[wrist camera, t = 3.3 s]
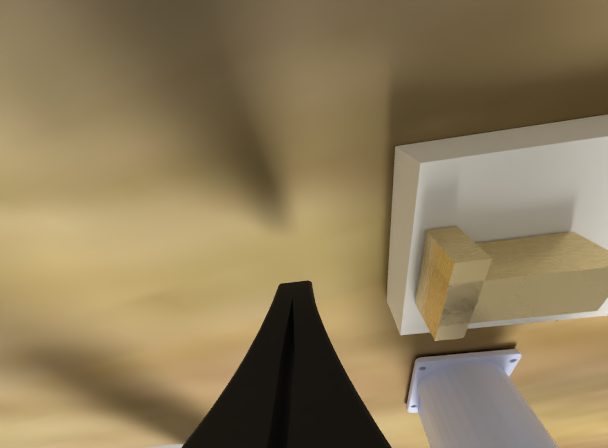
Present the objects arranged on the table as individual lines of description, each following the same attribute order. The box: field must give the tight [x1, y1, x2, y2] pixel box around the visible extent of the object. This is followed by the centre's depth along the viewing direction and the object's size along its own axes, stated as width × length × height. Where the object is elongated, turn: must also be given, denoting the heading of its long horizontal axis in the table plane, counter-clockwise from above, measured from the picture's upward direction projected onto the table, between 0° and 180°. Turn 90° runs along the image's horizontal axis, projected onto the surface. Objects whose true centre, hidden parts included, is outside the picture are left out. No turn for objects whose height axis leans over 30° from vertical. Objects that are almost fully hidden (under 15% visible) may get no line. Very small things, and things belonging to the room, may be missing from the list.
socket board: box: [386, 115, 608, 335], centre depth 11 cm, size 10×20×2 cm, turn 98°
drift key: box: [415, 226, 608, 341], centre depth 9 cm, size 4×6×2 cm
